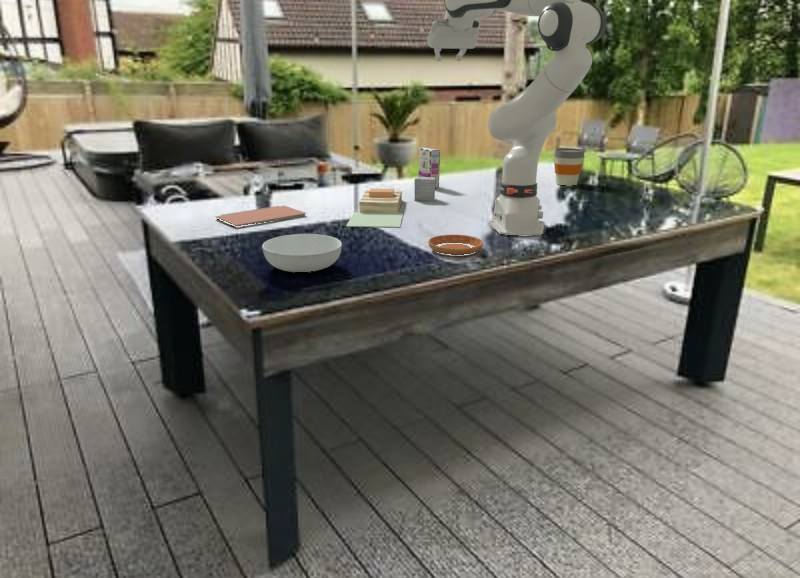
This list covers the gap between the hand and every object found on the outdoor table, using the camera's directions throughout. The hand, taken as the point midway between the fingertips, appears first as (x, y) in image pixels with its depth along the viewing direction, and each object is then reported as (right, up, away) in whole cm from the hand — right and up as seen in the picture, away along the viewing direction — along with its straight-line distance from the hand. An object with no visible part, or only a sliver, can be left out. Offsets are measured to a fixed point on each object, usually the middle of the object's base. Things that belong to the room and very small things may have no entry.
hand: (447, 60), depth 223 cm
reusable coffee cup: (+57, -34, +57) cm, 88 cm away
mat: (-25, -57, -4) cm, 62 cm away
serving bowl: (-43, -75, -53) cm, 102 cm away
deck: (-24, -50, +16) cm, 57 cm away
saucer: (-1, -70, -38) cm, 79 cm away
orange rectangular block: (-24, -45, +16) cm, 54 cm away
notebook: (-66, -56, 0) cm, 87 cm away
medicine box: (-7, -46, +27) cm, 54 cm away
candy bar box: (-4, -36, +53) cm, 64 cm away
